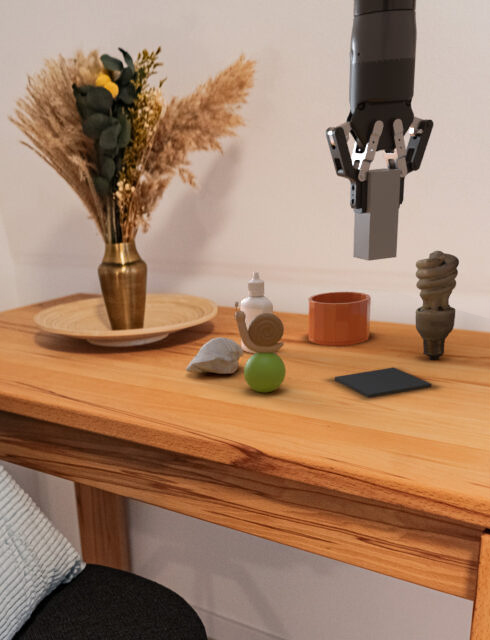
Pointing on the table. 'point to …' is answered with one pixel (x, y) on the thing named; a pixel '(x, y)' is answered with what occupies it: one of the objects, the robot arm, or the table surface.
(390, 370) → the mat
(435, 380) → the table surface
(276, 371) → the snail figurine
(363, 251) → the block
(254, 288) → the eye dropper bottle
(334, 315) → the cup
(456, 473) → the table surface
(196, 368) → the pebble
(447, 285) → the light bulb
